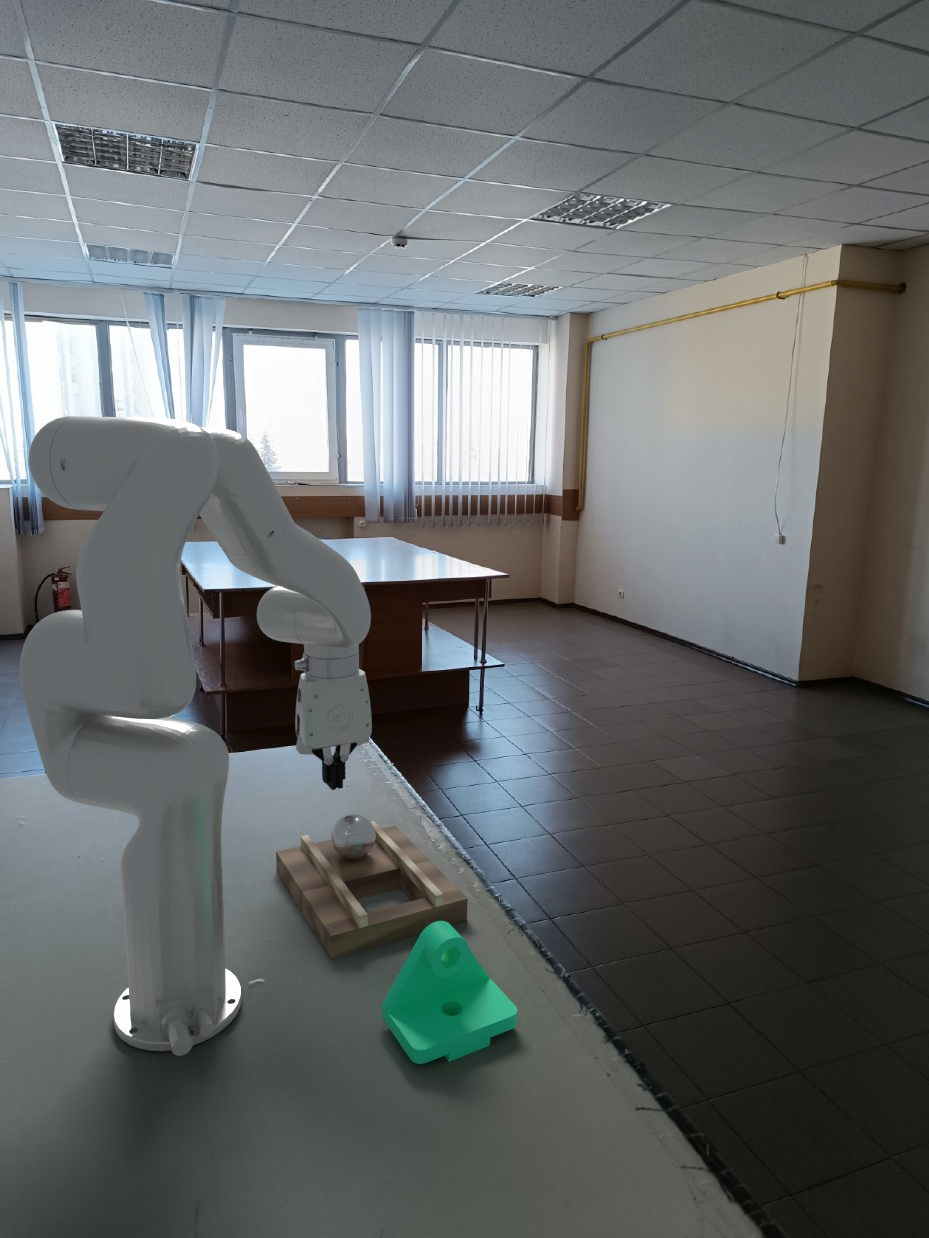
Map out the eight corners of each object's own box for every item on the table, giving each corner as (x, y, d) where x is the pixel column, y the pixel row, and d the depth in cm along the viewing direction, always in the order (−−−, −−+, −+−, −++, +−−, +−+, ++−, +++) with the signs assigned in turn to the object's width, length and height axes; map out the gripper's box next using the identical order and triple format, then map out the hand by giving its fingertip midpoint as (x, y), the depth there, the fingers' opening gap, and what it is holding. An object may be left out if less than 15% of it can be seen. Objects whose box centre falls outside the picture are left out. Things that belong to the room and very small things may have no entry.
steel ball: (382, 861, 110) (382, 820, 109) (340, 871, 107) (340, 829, 106) (365, 842, 115) (365, 803, 114) (325, 851, 112) (324, 811, 111)
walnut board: (466, 919, 102) (468, 887, 101) (331, 959, 94) (331, 924, 93) (395, 844, 121) (395, 816, 120) (276, 871, 112) (276, 841, 111)
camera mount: (415, 1076, 77) (417, 980, 75) (382, 1026, 83) (383, 937, 81) (520, 1034, 83) (525, 944, 81) (481, 991, 89) (485, 906, 87)
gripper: (287, 678, 106) (291, 806, 111) (392, 664, 113) (391, 785, 118) (271, 663, 113) (275, 785, 117) (371, 651, 120) (371, 766, 124)
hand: (333, 785), depth 117 cm, fingers closed
